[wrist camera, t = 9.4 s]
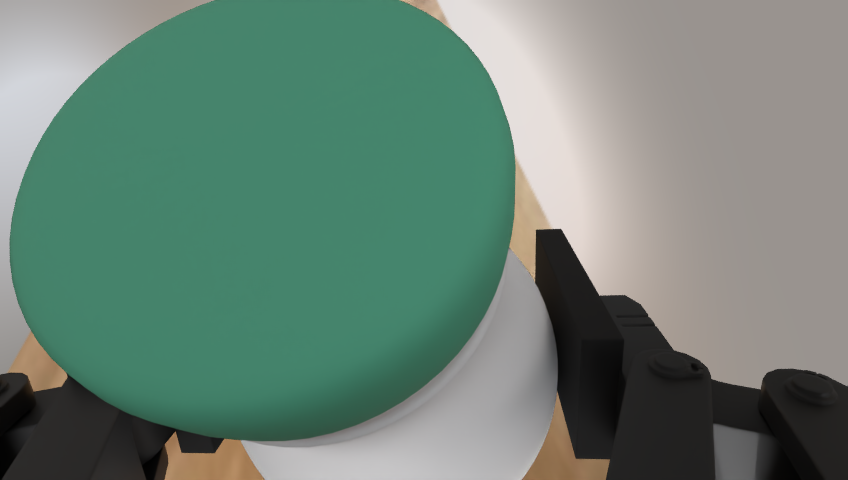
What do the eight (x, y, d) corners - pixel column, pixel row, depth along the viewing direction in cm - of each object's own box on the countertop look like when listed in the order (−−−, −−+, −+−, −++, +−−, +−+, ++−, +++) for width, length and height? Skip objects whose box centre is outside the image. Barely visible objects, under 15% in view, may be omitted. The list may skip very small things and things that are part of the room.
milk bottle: (338, 355, 24) (-93, -26, 6) (493, 313, 24) (529, -185, 6) (369, 536, 20) (-457, 951, 2) (549, 486, 20) (1035, 526, 3)
